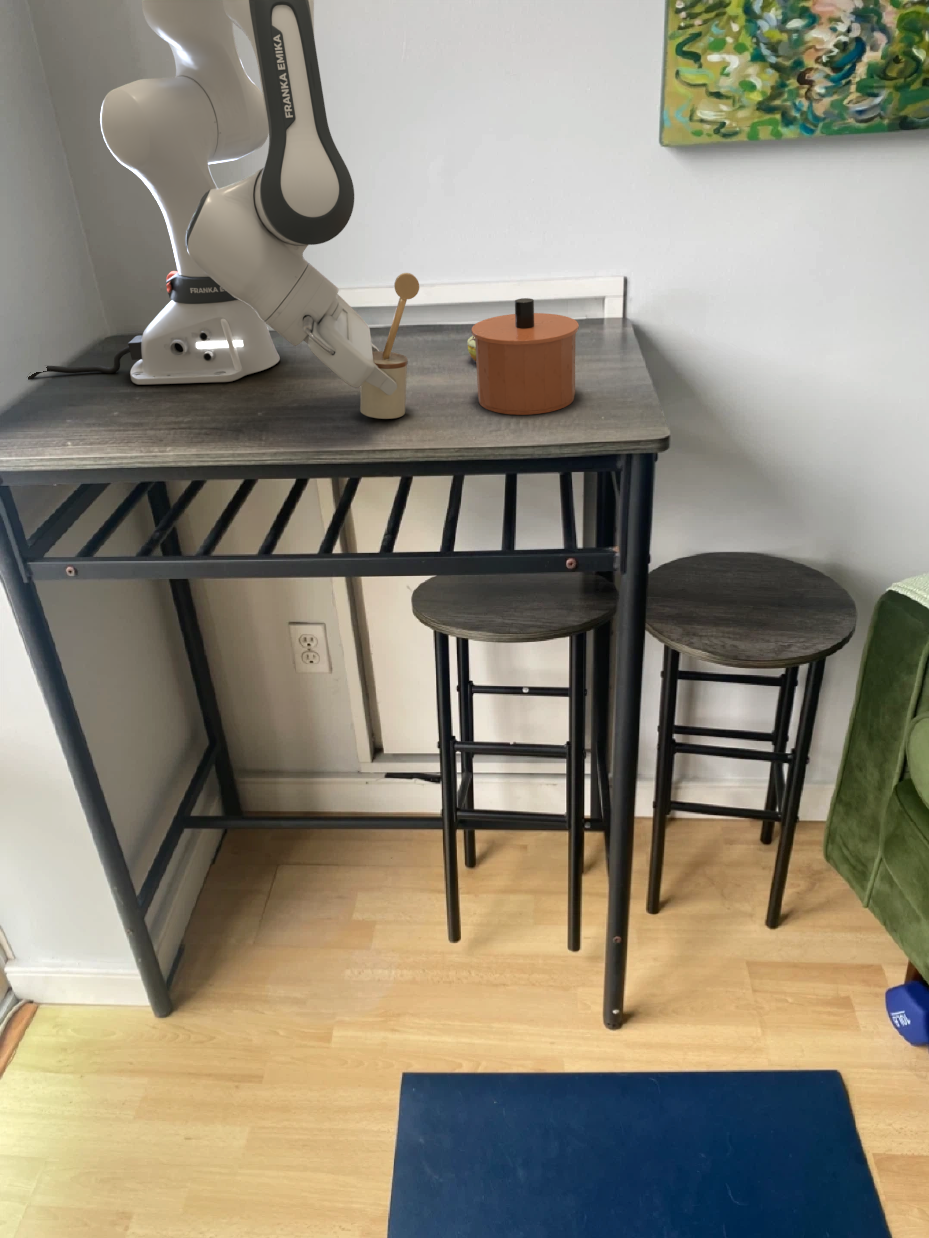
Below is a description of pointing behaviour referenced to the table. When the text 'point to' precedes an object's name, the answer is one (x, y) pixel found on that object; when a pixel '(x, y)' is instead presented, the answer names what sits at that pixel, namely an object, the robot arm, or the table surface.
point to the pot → (526, 376)
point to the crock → (390, 362)
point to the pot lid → (525, 326)
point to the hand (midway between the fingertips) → (392, 381)
